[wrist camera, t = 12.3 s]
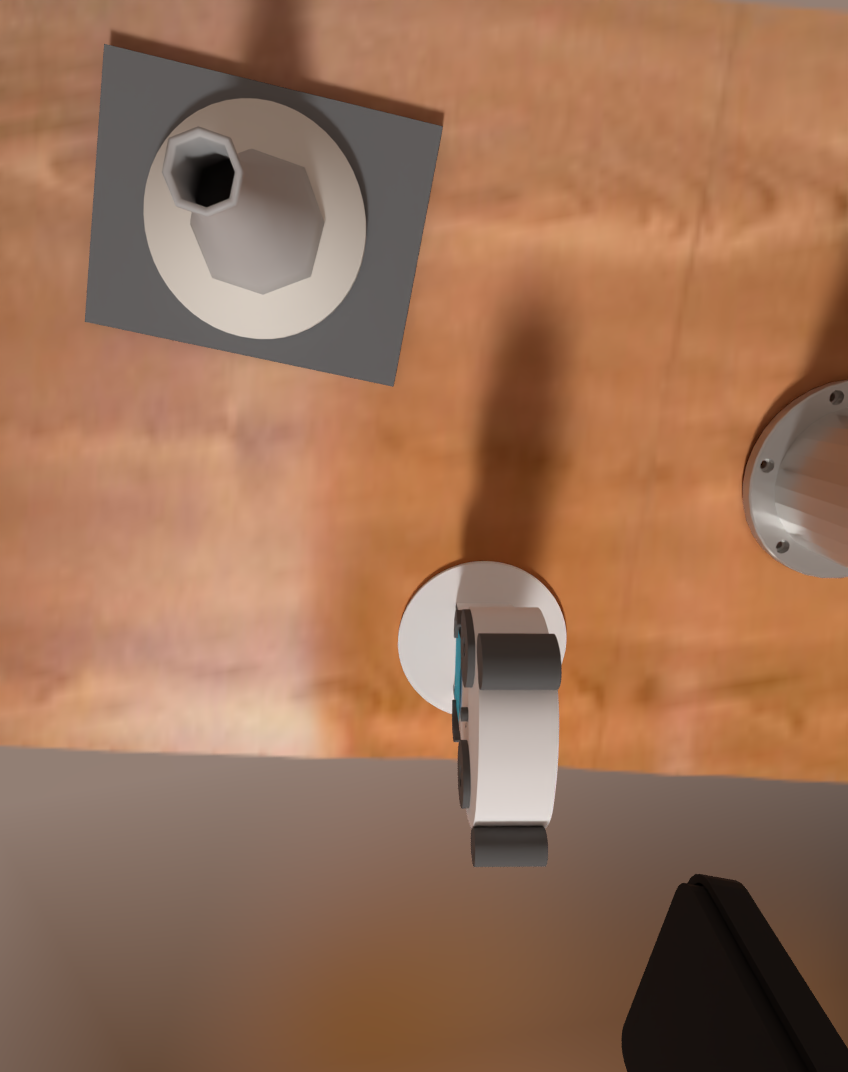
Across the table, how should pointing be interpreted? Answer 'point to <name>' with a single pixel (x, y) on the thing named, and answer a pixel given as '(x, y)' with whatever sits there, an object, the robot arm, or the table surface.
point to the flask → (244, 210)
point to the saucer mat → (340, 190)
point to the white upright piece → (493, 698)
